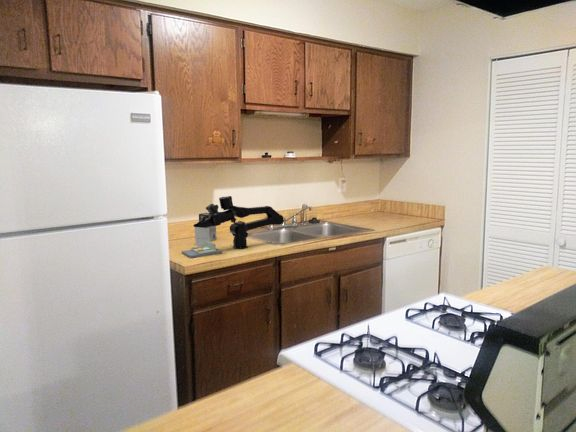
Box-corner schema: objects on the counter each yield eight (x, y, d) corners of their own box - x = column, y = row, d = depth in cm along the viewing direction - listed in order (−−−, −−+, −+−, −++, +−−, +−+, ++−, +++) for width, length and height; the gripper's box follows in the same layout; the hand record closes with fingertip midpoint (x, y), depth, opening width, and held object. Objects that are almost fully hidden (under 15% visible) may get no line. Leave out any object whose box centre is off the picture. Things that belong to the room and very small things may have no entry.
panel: (206, 247, 230) (206, 240, 230) (215, 251, 220) (215, 244, 220) (190, 249, 225) (190, 242, 225) (199, 254, 215) (199, 246, 215)
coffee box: (199, 239, 258) (197, 213, 255) (207, 238, 263) (206, 212, 260) (209, 241, 252) (208, 215, 250) (217, 239, 257) (216, 213, 254)
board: (212, 248, 233) (212, 242, 232) (222, 253, 222) (222, 246, 221) (181, 253, 223) (181, 246, 223) (190, 258, 212) (190, 251, 212)
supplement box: (210, 243, 248) (209, 221, 246) (208, 245, 240) (207, 224, 238) (197, 243, 247) (196, 222, 245) (195, 246, 240) (194, 224, 238)
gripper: (212, 204, 234) (186, 212, 226) (225, 200, 218) (197, 208, 210) (218, 223, 235) (192, 232, 227) (231, 221, 219) (204, 230, 211)
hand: (196, 225), depth 219 cm, fingers open, 9 cm apart
